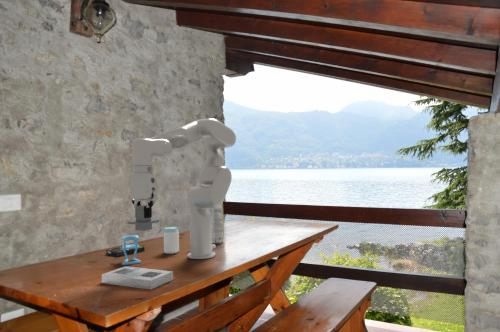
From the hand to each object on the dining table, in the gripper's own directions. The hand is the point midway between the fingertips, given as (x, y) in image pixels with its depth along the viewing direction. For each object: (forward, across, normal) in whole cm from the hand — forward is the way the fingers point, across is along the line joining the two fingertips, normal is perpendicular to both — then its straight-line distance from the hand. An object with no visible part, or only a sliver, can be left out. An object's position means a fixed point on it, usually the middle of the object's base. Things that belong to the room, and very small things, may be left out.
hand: (143, 217), depth 150 cm
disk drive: (+22, +34, -25) cm, 47 cm away
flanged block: (+5, 0, 0) cm, 5 cm away
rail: (+21, -6, +10) cm, 25 cm away
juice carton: (+21, +6, -62) cm, 65 cm away
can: (+21, +12, -32) cm, 41 cm away
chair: (+22, +18, -11) cm, 30 cm away
